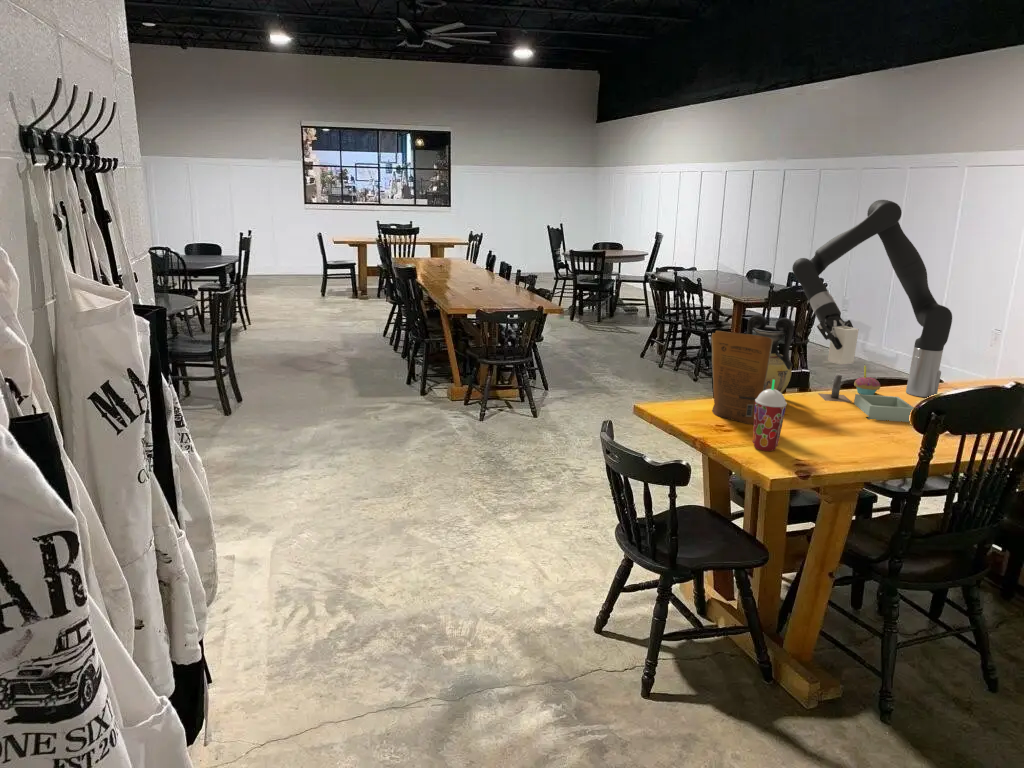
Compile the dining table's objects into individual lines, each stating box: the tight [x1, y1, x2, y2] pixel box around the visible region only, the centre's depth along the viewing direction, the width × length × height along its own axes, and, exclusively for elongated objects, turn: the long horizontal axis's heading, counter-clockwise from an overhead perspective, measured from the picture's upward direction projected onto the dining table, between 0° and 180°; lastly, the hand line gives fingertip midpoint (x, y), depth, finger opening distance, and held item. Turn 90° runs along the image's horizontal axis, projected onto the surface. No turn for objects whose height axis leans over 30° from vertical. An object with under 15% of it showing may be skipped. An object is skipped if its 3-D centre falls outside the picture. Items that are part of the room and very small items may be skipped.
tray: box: [853, 393, 915, 423], centre depth 241 cm, size 14×14×4 cm
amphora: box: [746, 314, 795, 394], centre depth 247 cm, size 18×17×30 cm
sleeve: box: [827, 326, 859, 366], centre depth 250 cm, size 6×6×12 cm
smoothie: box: [752, 379, 788, 452], centre depth 203 cm, size 8×8×20 cm
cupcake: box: [853, 365, 881, 395], centre depth 261 cm, size 9×8×12 cm
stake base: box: [817, 374, 853, 403], centre depth 254 cm, size 9×9×9 cm
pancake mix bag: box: [710, 330, 773, 425], centre depth 227 cm, size 7×19×28 cm, turn 46°
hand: (846, 347), depth 248 cm, fingers closed on sleeve, 5 cm apart
